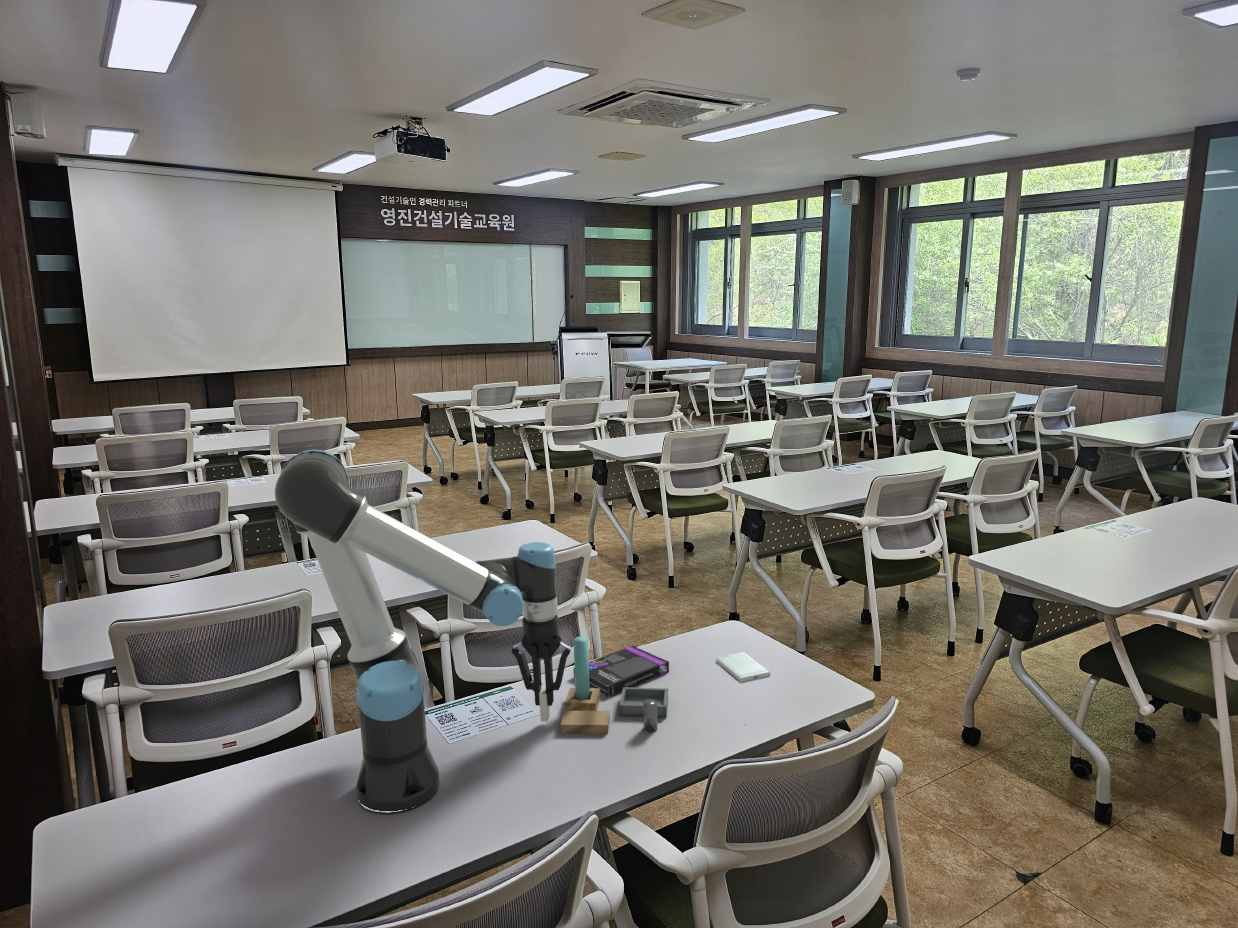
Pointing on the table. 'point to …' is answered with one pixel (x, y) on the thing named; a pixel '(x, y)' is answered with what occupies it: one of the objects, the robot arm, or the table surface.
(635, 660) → the box
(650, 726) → the bench dog
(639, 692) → the tray
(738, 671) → the hard drive
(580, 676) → the dowel
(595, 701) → the socket block
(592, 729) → the tan block
